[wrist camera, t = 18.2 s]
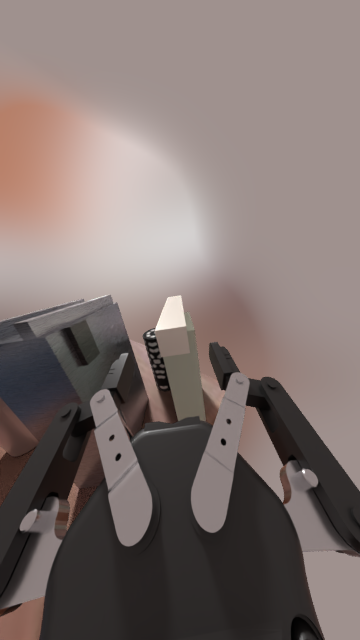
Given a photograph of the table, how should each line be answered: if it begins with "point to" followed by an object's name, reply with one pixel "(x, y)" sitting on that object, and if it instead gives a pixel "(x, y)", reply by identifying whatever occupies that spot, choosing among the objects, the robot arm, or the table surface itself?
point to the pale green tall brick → (186, 378)
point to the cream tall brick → (172, 329)
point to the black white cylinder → (156, 360)
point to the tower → (66, 368)
